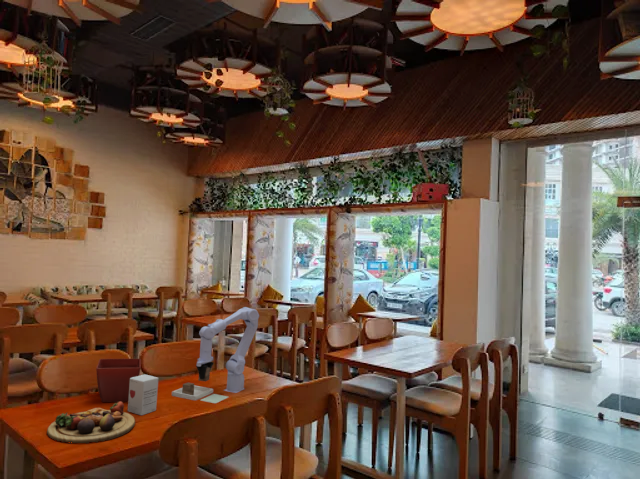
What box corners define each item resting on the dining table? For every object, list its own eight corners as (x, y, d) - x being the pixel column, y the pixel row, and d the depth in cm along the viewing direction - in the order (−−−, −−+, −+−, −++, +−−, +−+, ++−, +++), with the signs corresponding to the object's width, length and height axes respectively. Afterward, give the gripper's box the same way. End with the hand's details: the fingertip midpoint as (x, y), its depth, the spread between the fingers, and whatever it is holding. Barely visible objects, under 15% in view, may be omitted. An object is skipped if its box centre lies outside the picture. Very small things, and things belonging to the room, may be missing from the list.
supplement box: (126, 411, 216) (128, 377, 217) (142, 406, 224) (144, 373, 225) (141, 415, 212) (143, 381, 212) (156, 410, 220) (159, 377, 220)
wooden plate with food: (110, 409, 218) (111, 391, 218) (150, 429, 198) (151, 408, 198) (33, 429, 193) (34, 408, 193) (69, 453, 173) (70, 430, 173)
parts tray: (190, 389, 254) (190, 384, 254) (212, 393, 249) (213, 388, 249) (171, 396, 240) (171, 391, 240) (195, 401, 235) (195, 396, 235)
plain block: (186, 394, 244) (187, 382, 244) (193, 395, 242) (194, 383, 242) (181, 396, 240) (182, 384, 240) (188, 397, 238) (189, 385, 239)
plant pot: (138, 391, 246) (140, 357, 246) (138, 403, 228) (140, 367, 228) (97, 393, 239) (99, 358, 240) (93, 405, 222) (96, 368, 222)
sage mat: (213, 395, 247) (213, 393, 247) (229, 398, 244) (229, 396, 244) (199, 401, 236) (199, 400, 236) (215, 404, 233) (215, 403, 233)
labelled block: (209, 379, 247) (210, 367, 248) (205, 381, 243) (206, 369, 244) (202, 378, 248) (202, 366, 248) (198, 380, 244) (199, 368, 245)
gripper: (205, 347, 254) (203, 373, 254) (191, 352, 240) (189, 380, 240) (217, 348, 252) (216, 375, 252) (204, 354, 238) (202, 382, 238)
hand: (204, 377), depth 246 cm, fingers closed on labelled block, 4 cm apart
